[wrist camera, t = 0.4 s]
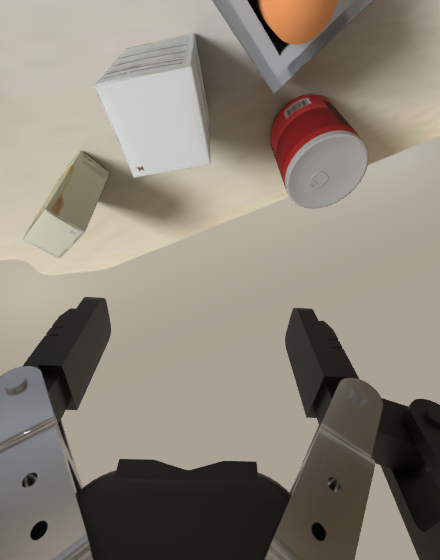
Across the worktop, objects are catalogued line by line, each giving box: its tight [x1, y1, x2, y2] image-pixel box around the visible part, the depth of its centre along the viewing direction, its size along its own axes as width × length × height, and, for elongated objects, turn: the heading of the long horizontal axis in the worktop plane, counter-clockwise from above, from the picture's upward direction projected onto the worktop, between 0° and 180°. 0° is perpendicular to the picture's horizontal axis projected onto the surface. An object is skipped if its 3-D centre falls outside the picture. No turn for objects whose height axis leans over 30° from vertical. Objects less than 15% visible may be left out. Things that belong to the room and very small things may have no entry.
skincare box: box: [22, 151, 110, 258], centre depth 34 cm, size 6×4×12 cm
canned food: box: [270, 95, 368, 208], centre depth 30 cm, size 8×8×11 cm
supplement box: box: [94, 33, 211, 178], centre depth 26 cm, size 7×7×13 cm
